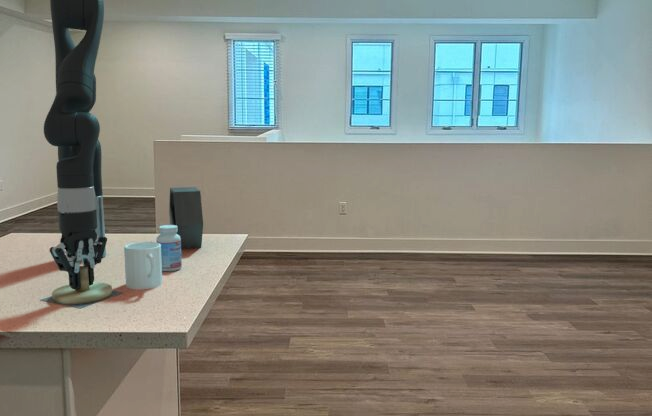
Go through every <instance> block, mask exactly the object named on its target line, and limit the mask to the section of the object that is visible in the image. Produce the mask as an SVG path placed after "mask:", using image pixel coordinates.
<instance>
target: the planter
mask: <svg viewBox="0 0 652 416" xmlns="http://www.w3.org/2000/svg"><path fill="white" fill-rule="evenodd" d="M201 193H202V192H201V190H200V189H199V188H198V187H196V186H188V187H187V186H183V187H181V186H180V187H170V188H169V205H168V209H169V210H168V213H169V225H176V226H177V228H178V231H177V234H178V235H179V236H180V238H181V250H184V249H185V250H186V249H196V248H198V249H199V248H202V245H203V243H202V242H203V233H204V232H203V231H204V219H203V218H204V217H203V206H202V194H201Z"/></svg>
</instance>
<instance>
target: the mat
mask: <svg viewBox="0 0 652 416" xmlns="http://www.w3.org/2000/svg"><path fill="white" fill-rule="evenodd" d="M122 294H125V292H124V291H118V290H113V289H112V294H111V296H109V297H107V298H105V299H103V300H99V301H96V302H91V303H84V304H61V303H57V302H54V301H53V300H52V295H51V296H48V297H45V298H42V299H39V301H42V302H44V303H45V302H47V303H51V304H56V305H59V306H60V305H61V306H65V307H71V308H74V309H79V310H80V309H83V308H87V307H89V306H92V305H94V304H97V303H99V302H104V301H106V300H108V299H112V298H113V297H117V296H120V295H122Z"/></svg>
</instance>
